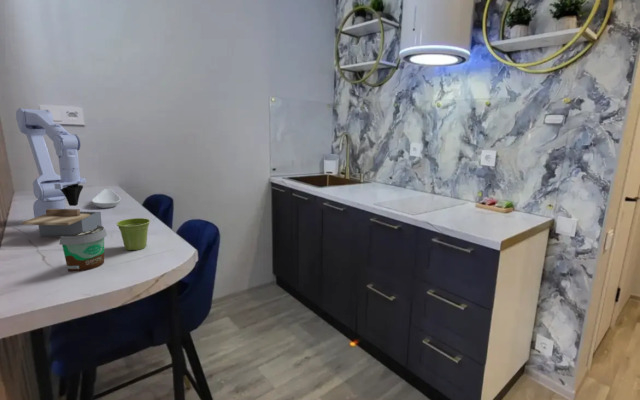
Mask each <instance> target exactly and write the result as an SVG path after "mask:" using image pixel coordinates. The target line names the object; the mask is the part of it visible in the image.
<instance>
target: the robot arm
mask: <svg viewBox="0 0 640 400" xmlns="http://www.w3.org/2000/svg"><path fill="white" fill-rule="evenodd" d="M15 118H16V119H15V120H16V123H17V126H18V128H19V131H20V133H22V134H23V135H25V136H26V137H27V140H28V143H29V147H30V150H31V152H32V153H31V154H32V156H33V160H34V162H35V166H36V169H37V171H38V175H39V176H38V177H37V178H35V179H34V180H33V182H32V187H33V194H34V197H35V199H36V200H35V201H34V203H33V204H32V205H33V207H32V209H33V215H34V217H33V218H36V217H38V216H41V215H44V214H46V210H47V209H66V204H65V203H66V201H67V203H68V206H70V207H72V206H75V207H77V206H78V204H79V199H80V195H81V192H82V190H83V188H84V186H83V185H82V184H86V183H87V178H86V177H81V172H80V170H81V169H80V160H79V151H80V149H81V139H80V137H79V136H78V135H77V134H75V133H73V134H72V133H70V132H69V131H67V130H66V129H65V128H64V127H63V126H62V125H61V124H60V123H55V121H54V116H53V113H52V112H51V110H48V109H31V108H22V107H21V108H20V107H19V108H17V110H16V111H15ZM45 135H46V136H47V137H48V138H49V139H50V140H51V141H52V143H53V147H54V149H55V154H56V156H57V159H58V165H59V166H58V167H59V174H57V173H56V172H55V170H54V169H55V168H54V165H53V163H52V160H51V156H50V153H49V150H48V147H47V144H46V140H45V137H44V136H45ZM65 199H66V201H65Z"/></svg>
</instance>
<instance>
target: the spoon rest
mask: <svg viewBox="0 0 640 400" xmlns="http://www.w3.org/2000/svg"><path fill="white" fill-rule="evenodd" d="M121 200H122V198H121V197H120V195H118V194H117V193H116V192H115V191H114V190H113V188H103V189H102V190H101V191H100V192H99V193H98V194H96V196H94V197H93V198H92V199H91V203H92V204H93V205H94V206H95V207H97V208H99V209H110V208H111V209H112V208H115V207H116V206H118V205H119V204H120V202H121Z"/></svg>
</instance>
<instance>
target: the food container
mask: <svg viewBox="0 0 640 400" xmlns="http://www.w3.org/2000/svg"><path fill="white" fill-rule="evenodd" d="M107 235H108V234H107V230H106V229H105V227H104V226H103V225H102V226H100V225H97V228H96V229H93V230H90V231H84V232H80V233H78V234H76V235H74V236H60V239H59V245H62V251H63V253H64V259H65V263H66V268H67V271H68V272H85V271H90V270H93V269H94V270H95V269H96V268H99V267H102V265H104V264H105V238H107Z"/></svg>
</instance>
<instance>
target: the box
mask: <svg viewBox="0 0 640 400" xmlns="http://www.w3.org/2000/svg"><path fill="white" fill-rule="evenodd" d="M80 214H90V216H89V217H87V218H84V219H82V220H80V221H77V222H75V223H73V224H70V225H38V231H39V236H40V237H61V236H63V237H71V236H74V235H76V234H78V233H80V232H84V231H90V230H93V229H96V228H97V225H100V226H103V224H102V214H101V211H81V210H80Z"/></svg>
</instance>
